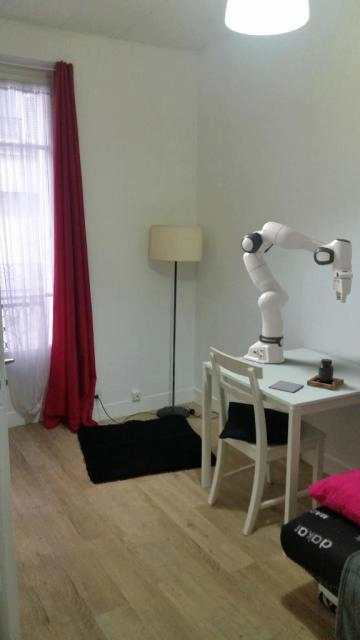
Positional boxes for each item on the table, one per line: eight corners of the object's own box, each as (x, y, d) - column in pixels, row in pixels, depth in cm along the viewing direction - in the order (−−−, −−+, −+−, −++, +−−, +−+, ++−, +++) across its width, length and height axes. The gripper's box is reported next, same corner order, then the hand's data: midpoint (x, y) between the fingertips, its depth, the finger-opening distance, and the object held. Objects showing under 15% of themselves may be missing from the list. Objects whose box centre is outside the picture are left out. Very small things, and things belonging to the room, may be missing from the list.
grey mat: (268, 387, 248) (268, 386, 247) (280, 381, 257) (280, 380, 257) (292, 393, 241) (292, 391, 240) (303, 386, 250) (303, 385, 250)
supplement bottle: (334, 386, 250) (336, 361, 248) (320, 386, 249) (322, 362, 247) (329, 381, 257) (331, 357, 254) (315, 382, 256) (317, 358, 254)
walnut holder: (306, 385, 252) (307, 381, 251) (317, 378, 262) (317, 374, 262) (333, 390, 244) (333, 386, 244) (343, 383, 254) (343, 379, 254)
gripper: (330, 271, 267) (329, 298, 269) (340, 275, 247) (339, 304, 249) (343, 270, 267) (342, 298, 269) (354, 274, 247) (352, 304, 249)
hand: (340, 301), depth 259 cm, fingers open, 8 cm apart
